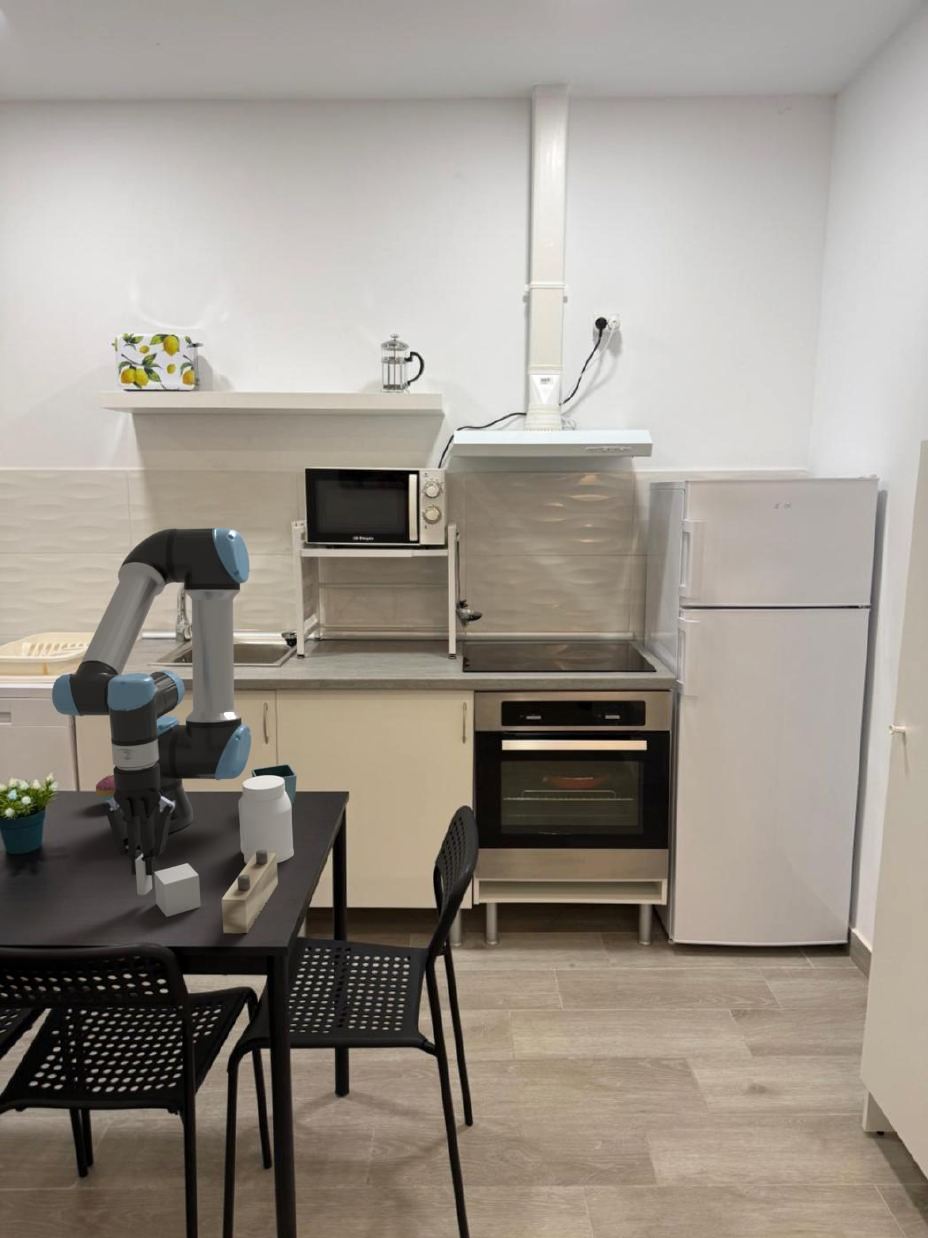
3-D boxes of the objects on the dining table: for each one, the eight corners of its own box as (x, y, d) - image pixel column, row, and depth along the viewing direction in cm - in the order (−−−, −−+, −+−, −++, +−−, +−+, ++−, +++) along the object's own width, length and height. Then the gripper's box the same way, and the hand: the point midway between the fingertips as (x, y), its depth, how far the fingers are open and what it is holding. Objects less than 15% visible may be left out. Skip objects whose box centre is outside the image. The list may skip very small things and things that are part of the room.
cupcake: (107, 798, 205) (103, 749, 203) (142, 798, 204) (138, 750, 203) (90, 812, 196) (86, 761, 194) (127, 812, 196) (123, 761, 194)
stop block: (223, 933, 143) (220, 888, 142) (256, 883, 161) (254, 842, 159) (247, 933, 143) (244, 888, 141) (277, 883, 160) (275, 843, 159)
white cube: (156, 903, 153) (153, 872, 152) (189, 894, 157) (187, 863, 156) (166, 917, 148) (164, 884, 147) (200, 907, 152) (198, 875, 151)
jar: (239, 846, 177) (235, 776, 175) (285, 838, 181) (282, 770, 178) (246, 869, 167) (242, 795, 164) (296, 860, 170) (293, 788, 168)
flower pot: (259, 819, 191) (257, 781, 189) (252, 806, 199) (250, 769, 197) (298, 813, 194) (297, 775, 193) (290, 800, 202) (288, 763, 201)
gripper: (89, 770, 146) (99, 900, 149) (163, 771, 145) (171, 902, 148) (110, 756, 153) (119, 880, 157) (181, 757, 152) (188, 883, 156)
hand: (145, 891), depth 152 cm, fingers closed
